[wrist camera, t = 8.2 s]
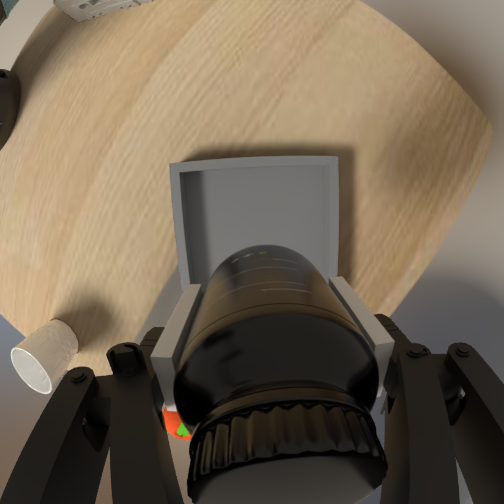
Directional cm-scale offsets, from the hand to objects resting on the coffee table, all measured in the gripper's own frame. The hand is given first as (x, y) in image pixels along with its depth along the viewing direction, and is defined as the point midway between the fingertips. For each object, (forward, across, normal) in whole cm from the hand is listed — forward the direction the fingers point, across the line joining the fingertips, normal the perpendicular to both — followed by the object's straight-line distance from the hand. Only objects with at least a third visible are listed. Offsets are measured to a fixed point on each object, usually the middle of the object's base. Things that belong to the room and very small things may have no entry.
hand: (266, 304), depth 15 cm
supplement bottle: (+1, 0, 0) cm, 1 cm away
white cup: (+18, -32, -14) cm, 39 cm away
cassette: (+18, -18, +33) cm, 42 cm away
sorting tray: (+17, 0, 0) cm, 17 cm away
